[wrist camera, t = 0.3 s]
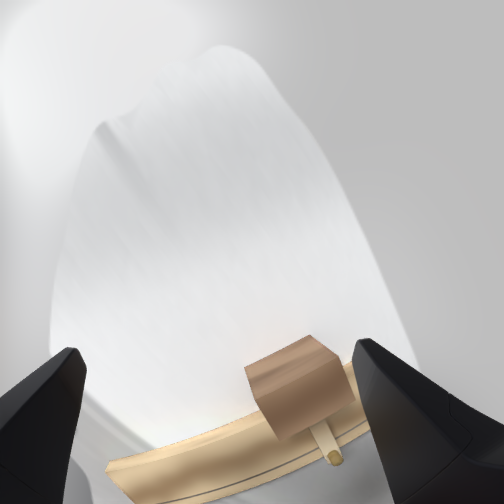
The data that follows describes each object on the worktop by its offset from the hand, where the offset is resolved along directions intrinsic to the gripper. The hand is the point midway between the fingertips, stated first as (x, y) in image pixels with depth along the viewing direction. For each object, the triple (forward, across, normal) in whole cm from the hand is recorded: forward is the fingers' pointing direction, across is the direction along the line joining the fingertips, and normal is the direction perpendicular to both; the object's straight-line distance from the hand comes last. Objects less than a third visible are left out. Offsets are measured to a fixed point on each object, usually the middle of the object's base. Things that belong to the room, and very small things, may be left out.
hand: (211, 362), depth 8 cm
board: (+6, 0, +20) cm, 21 cm away
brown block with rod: (+9, -6, +15) cm, 19 cm away
